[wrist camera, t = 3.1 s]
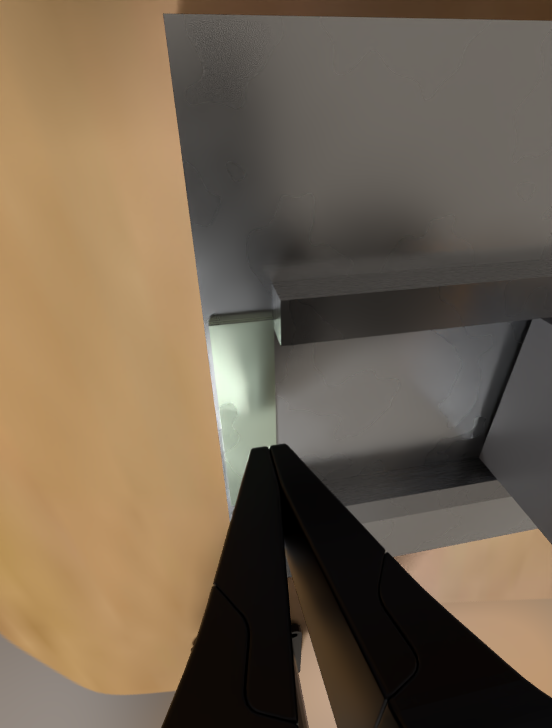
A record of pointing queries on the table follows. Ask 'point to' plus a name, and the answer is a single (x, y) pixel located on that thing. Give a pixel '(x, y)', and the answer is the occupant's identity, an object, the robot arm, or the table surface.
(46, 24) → the table surface
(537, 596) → the table surface
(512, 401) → the toggle
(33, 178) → the table surface
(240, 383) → the panel
